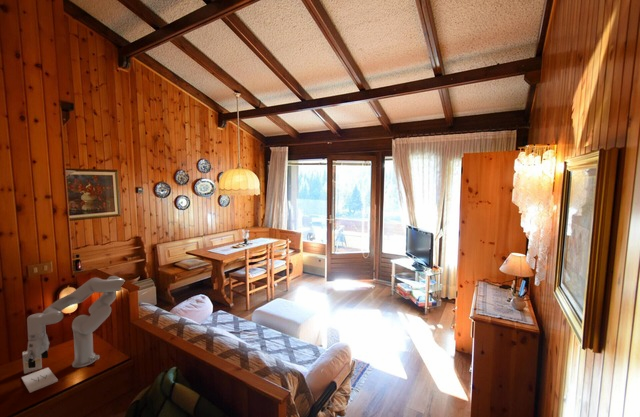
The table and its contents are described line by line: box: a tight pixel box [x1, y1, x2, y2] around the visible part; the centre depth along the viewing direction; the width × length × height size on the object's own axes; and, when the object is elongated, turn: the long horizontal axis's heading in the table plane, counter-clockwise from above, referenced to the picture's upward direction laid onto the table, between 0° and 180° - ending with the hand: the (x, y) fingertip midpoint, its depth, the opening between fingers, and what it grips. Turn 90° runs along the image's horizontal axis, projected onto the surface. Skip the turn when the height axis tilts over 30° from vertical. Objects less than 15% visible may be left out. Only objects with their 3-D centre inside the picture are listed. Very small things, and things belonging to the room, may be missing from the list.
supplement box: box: [22, 350, 43, 374], centre depth 182 cm, size 8×5×13 cm, turn 137°
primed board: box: [20, 367, 59, 393], centre depth 173 cm, size 20×12×1 cm, turn 55°
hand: (38, 362), depth 173 cm, fingers open, 9 cm apart
